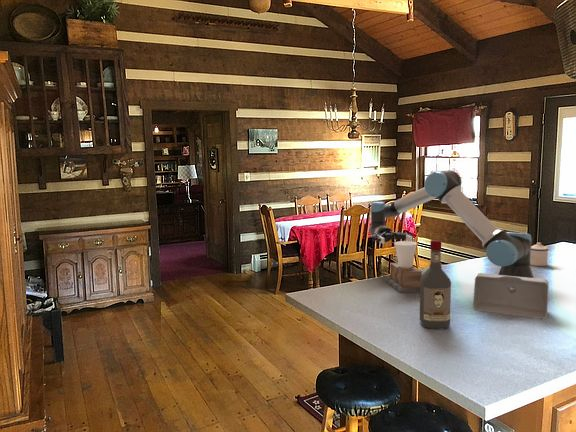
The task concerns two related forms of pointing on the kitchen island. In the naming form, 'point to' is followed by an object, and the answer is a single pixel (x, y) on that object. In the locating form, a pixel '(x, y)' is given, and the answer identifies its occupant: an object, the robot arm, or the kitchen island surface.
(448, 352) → the kitchen island surface
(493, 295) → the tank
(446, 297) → the liquor
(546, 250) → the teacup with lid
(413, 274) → the brown rectangular block
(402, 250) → the cup
